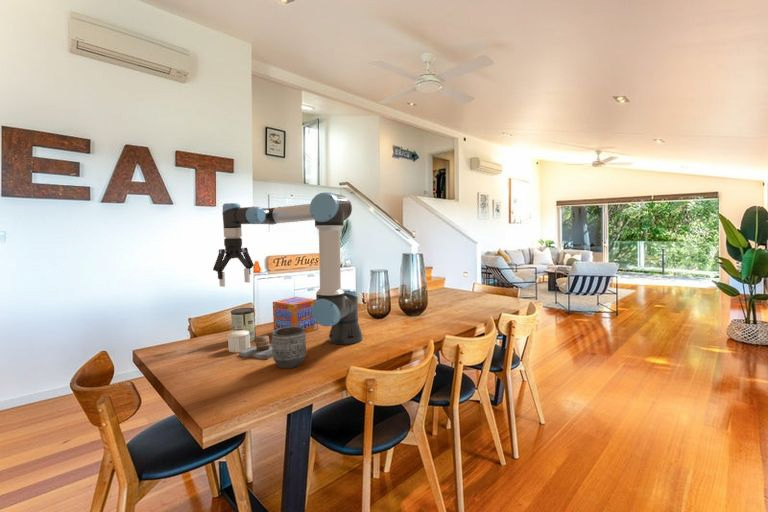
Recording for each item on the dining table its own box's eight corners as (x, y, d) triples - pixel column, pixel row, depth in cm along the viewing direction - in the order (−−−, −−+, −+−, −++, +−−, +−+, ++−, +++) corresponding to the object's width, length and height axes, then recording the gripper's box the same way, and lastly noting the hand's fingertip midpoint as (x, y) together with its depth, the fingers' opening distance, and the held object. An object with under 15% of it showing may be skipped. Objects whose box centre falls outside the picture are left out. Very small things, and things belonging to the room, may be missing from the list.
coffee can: (239, 336, 178) (237, 307, 177) (259, 336, 177) (258, 307, 176) (227, 343, 167) (226, 312, 166) (249, 343, 166) (248, 312, 165)
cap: (254, 347, 160) (253, 331, 160) (240, 353, 153) (239, 336, 152) (238, 345, 163) (237, 329, 163) (224, 351, 156) (223, 335, 155)
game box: (297, 325, 196) (296, 296, 195) (318, 329, 187) (317, 298, 186) (273, 332, 183) (272, 301, 182) (295, 337, 175) (293, 304, 173)
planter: (289, 372, 130) (287, 337, 129) (265, 366, 136) (264, 332, 135) (313, 361, 140) (312, 328, 139) (290, 356, 147) (289, 325, 146)
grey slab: (286, 349, 156) (285, 334, 155) (267, 359, 144) (266, 342, 144) (258, 346, 161) (258, 332, 160) (239, 355, 149) (238, 340, 149)
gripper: (249, 237, 180) (251, 280, 182) (202, 238, 159) (205, 287, 160) (260, 236, 177) (262, 281, 178) (213, 238, 155) (216, 288, 156)
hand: (235, 284), depth 169 cm, fingers open, 13 cm apart
